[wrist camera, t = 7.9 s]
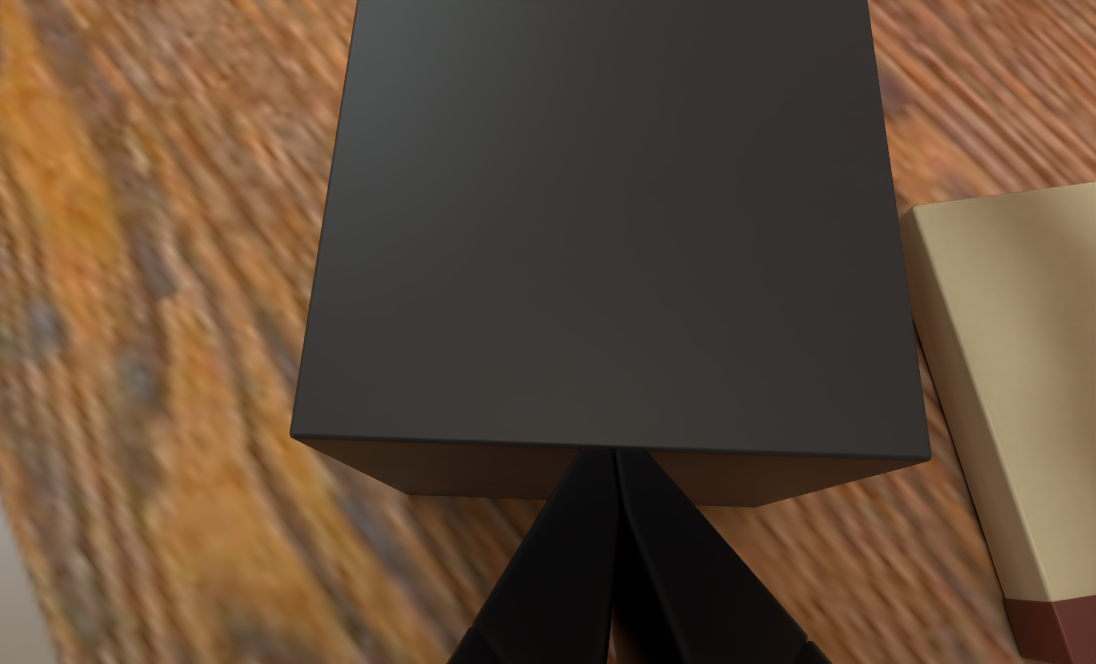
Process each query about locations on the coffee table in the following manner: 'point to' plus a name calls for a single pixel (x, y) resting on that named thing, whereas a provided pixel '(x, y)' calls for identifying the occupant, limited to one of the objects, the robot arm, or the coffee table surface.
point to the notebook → (1019, 391)
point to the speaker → (611, 250)
